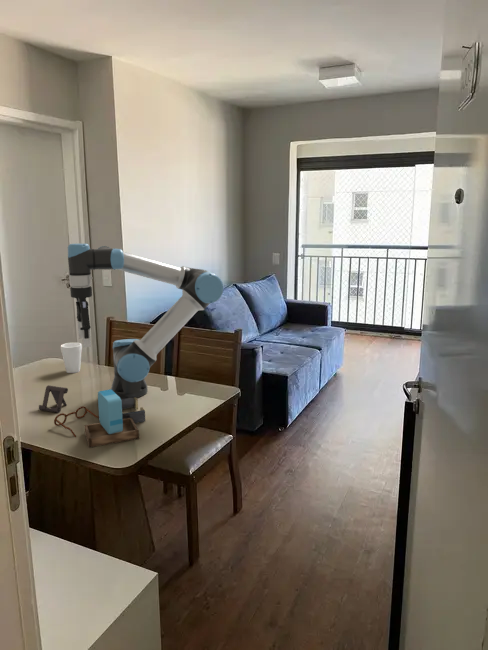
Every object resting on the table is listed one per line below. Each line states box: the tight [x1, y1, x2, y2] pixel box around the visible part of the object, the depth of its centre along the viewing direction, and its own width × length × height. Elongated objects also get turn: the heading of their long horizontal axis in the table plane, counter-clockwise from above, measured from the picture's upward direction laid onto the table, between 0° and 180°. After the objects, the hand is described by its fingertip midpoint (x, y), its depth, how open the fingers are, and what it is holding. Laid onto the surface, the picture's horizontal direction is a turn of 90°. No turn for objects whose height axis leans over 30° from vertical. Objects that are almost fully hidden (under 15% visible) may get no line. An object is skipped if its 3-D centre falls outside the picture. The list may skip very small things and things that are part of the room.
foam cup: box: [60, 342, 83, 374], centre depth 232 cm, size 10×9×13 cm
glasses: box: [53, 406, 99, 438], centre depth 172 cm, size 13×13×5 cm
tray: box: [84, 418, 140, 449], centre depth 164 cm, size 16×12×3 cm
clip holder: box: [120, 396, 146, 424], centre depth 182 cm, size 9×16×4 cm, turn 24°
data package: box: [97, 388, 123, 434], centre depth 163 cm, size 12×4×12 cm, turn 32°
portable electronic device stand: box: [38, 385, 69, 414], centre depth 187 cm, size 9×8×8 cm
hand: (84, 342), depth 182 cm, fingers open, 13 cm apart
